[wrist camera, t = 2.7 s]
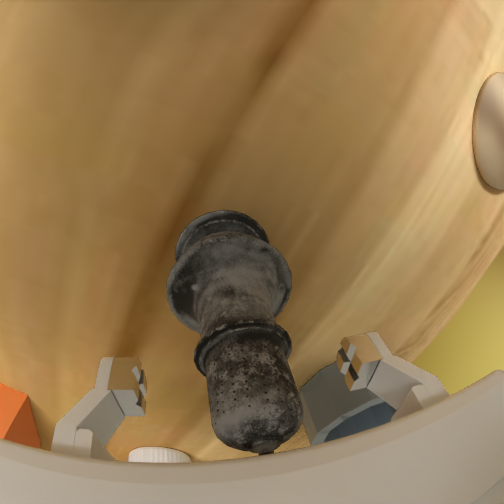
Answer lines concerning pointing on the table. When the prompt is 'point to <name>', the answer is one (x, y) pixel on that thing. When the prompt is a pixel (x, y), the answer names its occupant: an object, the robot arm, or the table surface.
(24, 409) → the pyramid
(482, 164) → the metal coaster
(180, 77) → the table surface
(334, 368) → the grey faceted cup
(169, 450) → the ramekin
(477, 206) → the table surface
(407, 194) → the table surface
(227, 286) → the grey chess piece
